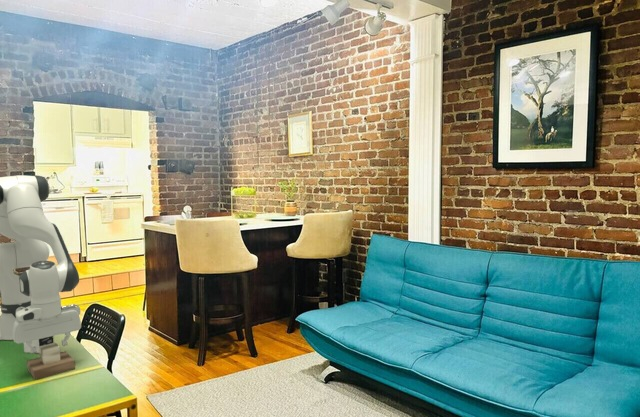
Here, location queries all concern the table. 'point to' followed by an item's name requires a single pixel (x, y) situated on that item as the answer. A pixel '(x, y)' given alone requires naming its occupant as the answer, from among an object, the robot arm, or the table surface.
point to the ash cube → (50, 353)
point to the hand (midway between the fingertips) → (49, 348)
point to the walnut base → (50, 366)
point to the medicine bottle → (38, 344)
